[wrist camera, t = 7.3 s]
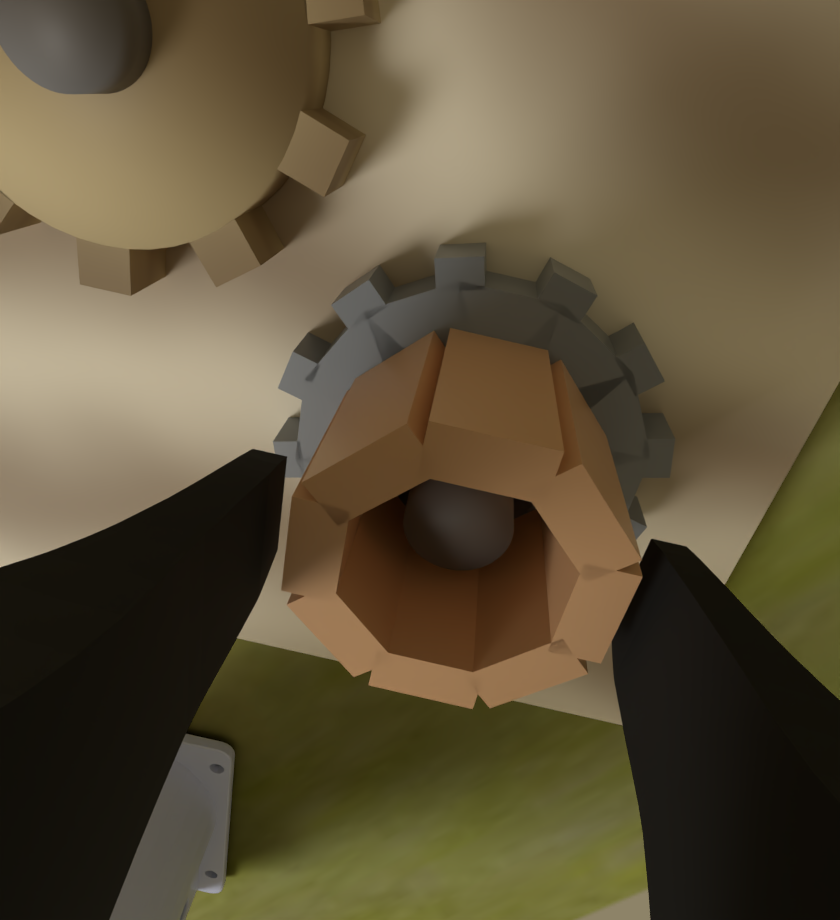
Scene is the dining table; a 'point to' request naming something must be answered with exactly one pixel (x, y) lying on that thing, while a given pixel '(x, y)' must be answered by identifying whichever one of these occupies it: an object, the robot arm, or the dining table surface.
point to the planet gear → (469, 477)
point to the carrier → (406, 238)
